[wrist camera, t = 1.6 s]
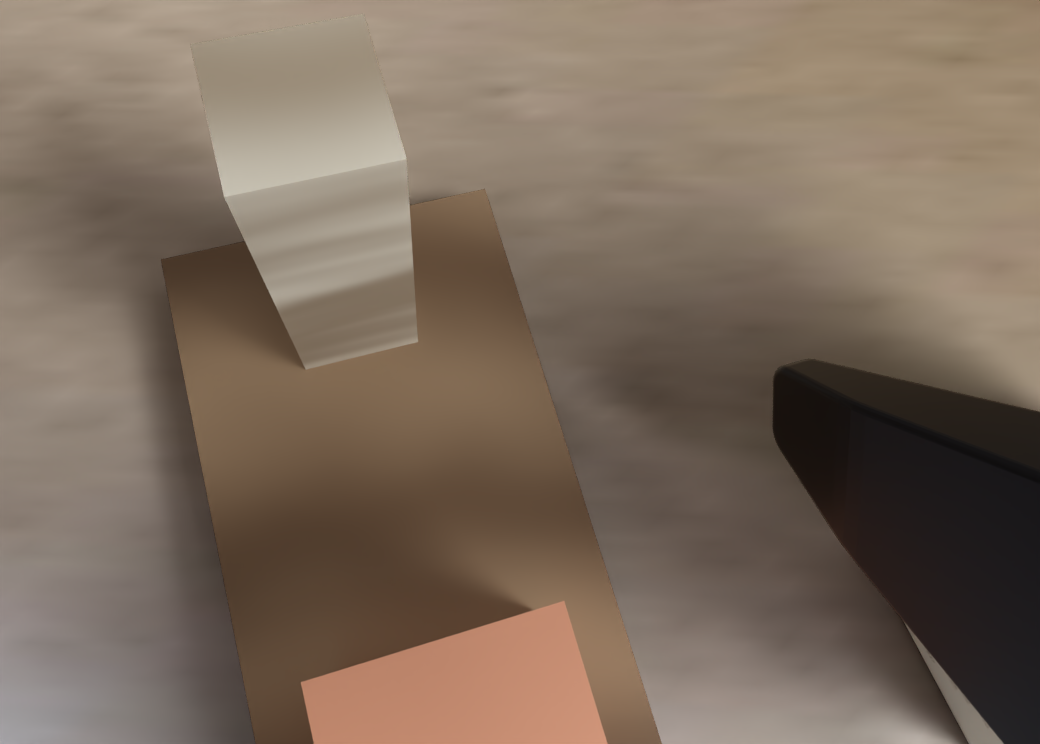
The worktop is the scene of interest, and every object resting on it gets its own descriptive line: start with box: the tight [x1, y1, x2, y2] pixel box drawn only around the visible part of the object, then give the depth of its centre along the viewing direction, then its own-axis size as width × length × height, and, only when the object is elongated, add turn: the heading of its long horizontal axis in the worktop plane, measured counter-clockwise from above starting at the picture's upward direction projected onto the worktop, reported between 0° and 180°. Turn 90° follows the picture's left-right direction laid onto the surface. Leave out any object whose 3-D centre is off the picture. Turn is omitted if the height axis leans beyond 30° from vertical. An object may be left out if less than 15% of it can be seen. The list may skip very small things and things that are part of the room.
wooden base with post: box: [161, 14, 662, 744], centre depth 17 cm, size 18×9×10 cm, turn 17°
